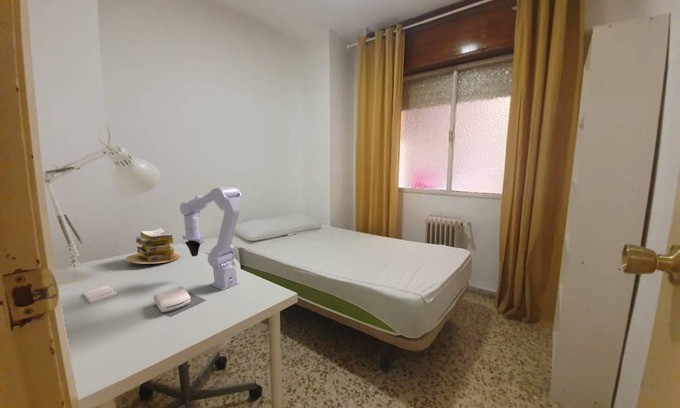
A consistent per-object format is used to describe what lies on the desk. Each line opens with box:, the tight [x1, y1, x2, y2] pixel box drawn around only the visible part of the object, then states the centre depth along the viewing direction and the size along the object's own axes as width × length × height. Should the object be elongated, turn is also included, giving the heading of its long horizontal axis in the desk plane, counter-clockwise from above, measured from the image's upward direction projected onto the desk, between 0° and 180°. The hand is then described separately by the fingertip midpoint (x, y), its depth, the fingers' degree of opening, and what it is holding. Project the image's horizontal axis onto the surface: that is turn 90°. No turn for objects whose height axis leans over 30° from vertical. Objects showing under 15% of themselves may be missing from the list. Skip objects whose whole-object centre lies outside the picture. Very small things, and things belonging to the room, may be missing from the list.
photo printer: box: [153, 286, 191, 313], centre depth 99 cm, size 10×4×12 cm
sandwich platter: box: [125, 227, 181, 265], centre depth 146 cm, size 25×25×17 cm
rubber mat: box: [152, 291, 207, 318], centre depth 100 cm, size 13×13×1 cm
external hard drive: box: [82, 285, 118, 304], centre depth 107 cm, size 2×8×12 cm
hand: (194, 255), depth 123 cm, fingers closed
